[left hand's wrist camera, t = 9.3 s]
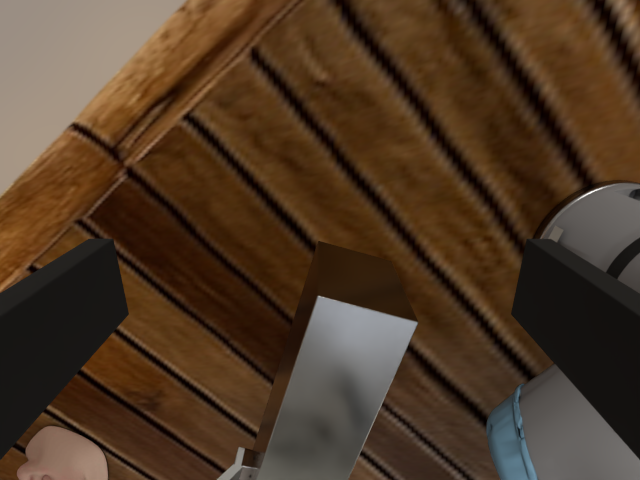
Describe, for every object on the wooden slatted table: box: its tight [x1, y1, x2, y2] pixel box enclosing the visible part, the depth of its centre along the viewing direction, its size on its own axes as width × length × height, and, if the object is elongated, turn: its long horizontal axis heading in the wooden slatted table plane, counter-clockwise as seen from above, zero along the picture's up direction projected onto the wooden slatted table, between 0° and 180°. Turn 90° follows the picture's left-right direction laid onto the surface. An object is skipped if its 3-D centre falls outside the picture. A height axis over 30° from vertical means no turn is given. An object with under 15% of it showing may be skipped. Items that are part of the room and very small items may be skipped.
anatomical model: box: [17, 426, 108, 480], centre depth 51 cm, size 13×4×12 cm
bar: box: [249, 241, 418, 480], centre depth 27 cm, size 22×6×8 cm, turn 164°
